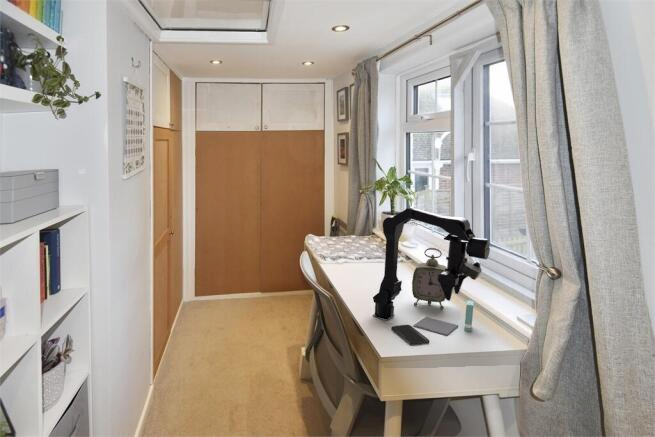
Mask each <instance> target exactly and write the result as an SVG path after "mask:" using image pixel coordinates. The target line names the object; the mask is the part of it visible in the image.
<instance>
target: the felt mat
mask: <svg viewBox="0 0 655 437" xmlns="http://www.w3.org/2000/svg"><path fill="white" fill-rule="evenodd" d="M414 327H415V328H419V329H422V330H425V331H429V332H432V333H436V334H439V335H443V336H446V337H447V336H449V335H450V334H451V333H452V332H454V330H456V329H457V328H458V327H459V324H454V323H451V322H447V321H444V320H440V319H437V318H432V317H429V316H424V317H423V318H422V319H421V320H419V321H417V322H416V323H414V324H413V328H414Z"/></svg>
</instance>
